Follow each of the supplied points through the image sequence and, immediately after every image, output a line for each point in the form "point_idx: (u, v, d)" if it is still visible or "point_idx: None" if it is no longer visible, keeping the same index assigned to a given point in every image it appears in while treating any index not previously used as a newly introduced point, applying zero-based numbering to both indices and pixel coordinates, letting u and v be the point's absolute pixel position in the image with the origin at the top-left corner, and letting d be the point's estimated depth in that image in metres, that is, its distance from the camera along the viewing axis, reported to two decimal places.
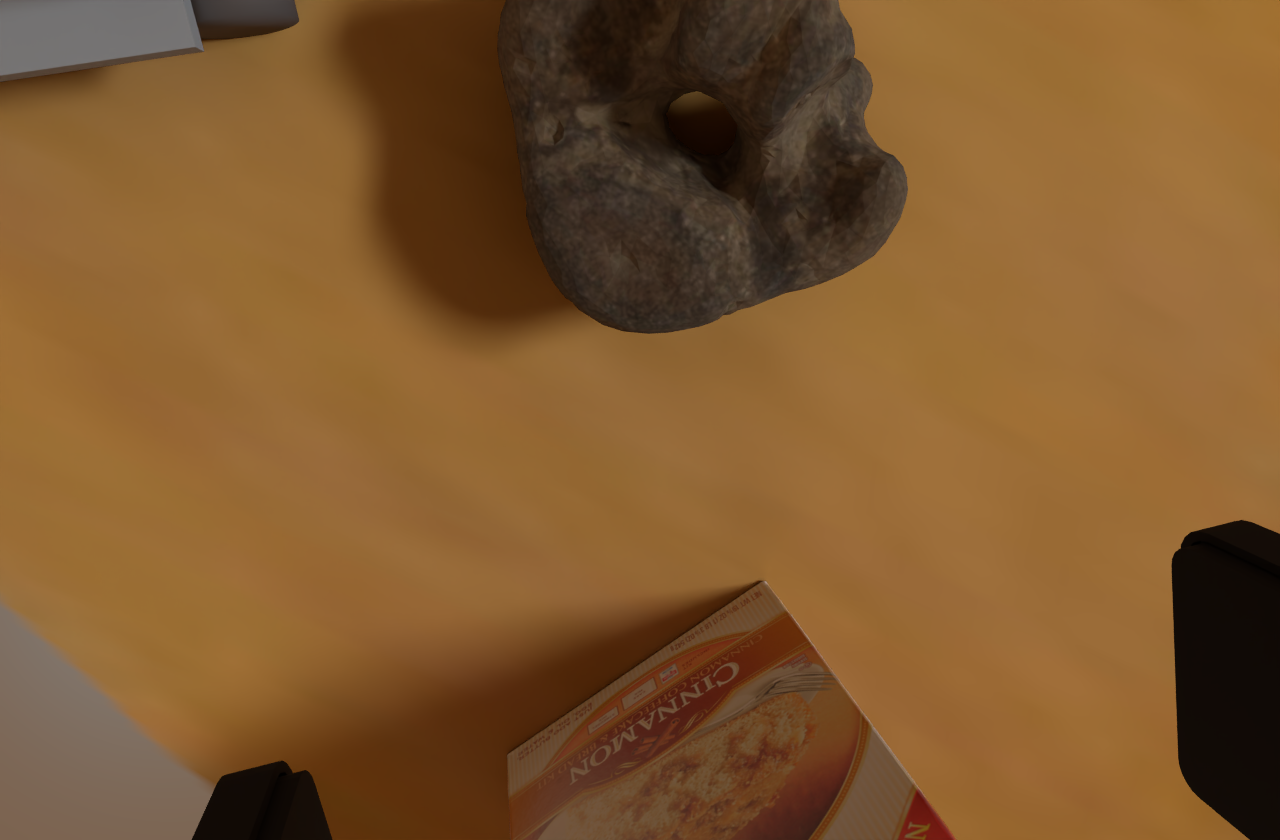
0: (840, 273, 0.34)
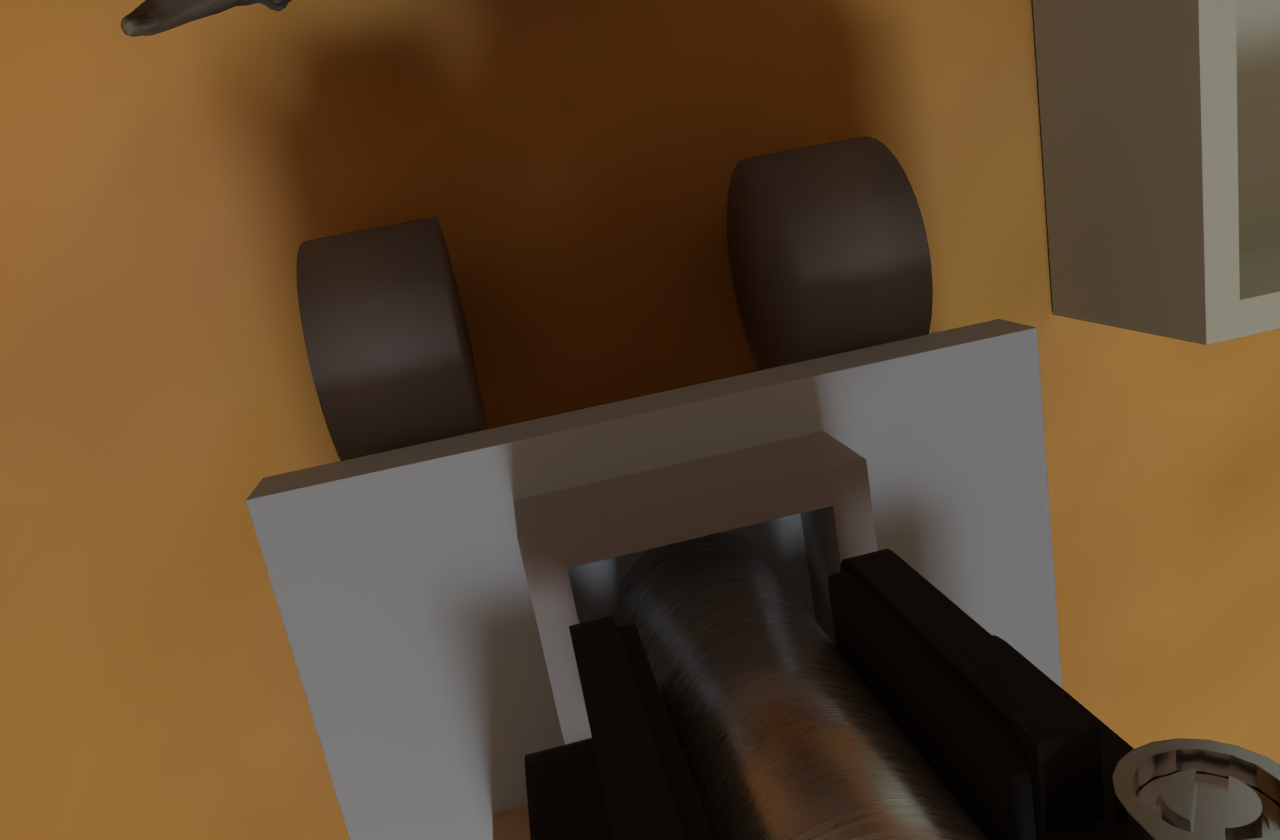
0: None
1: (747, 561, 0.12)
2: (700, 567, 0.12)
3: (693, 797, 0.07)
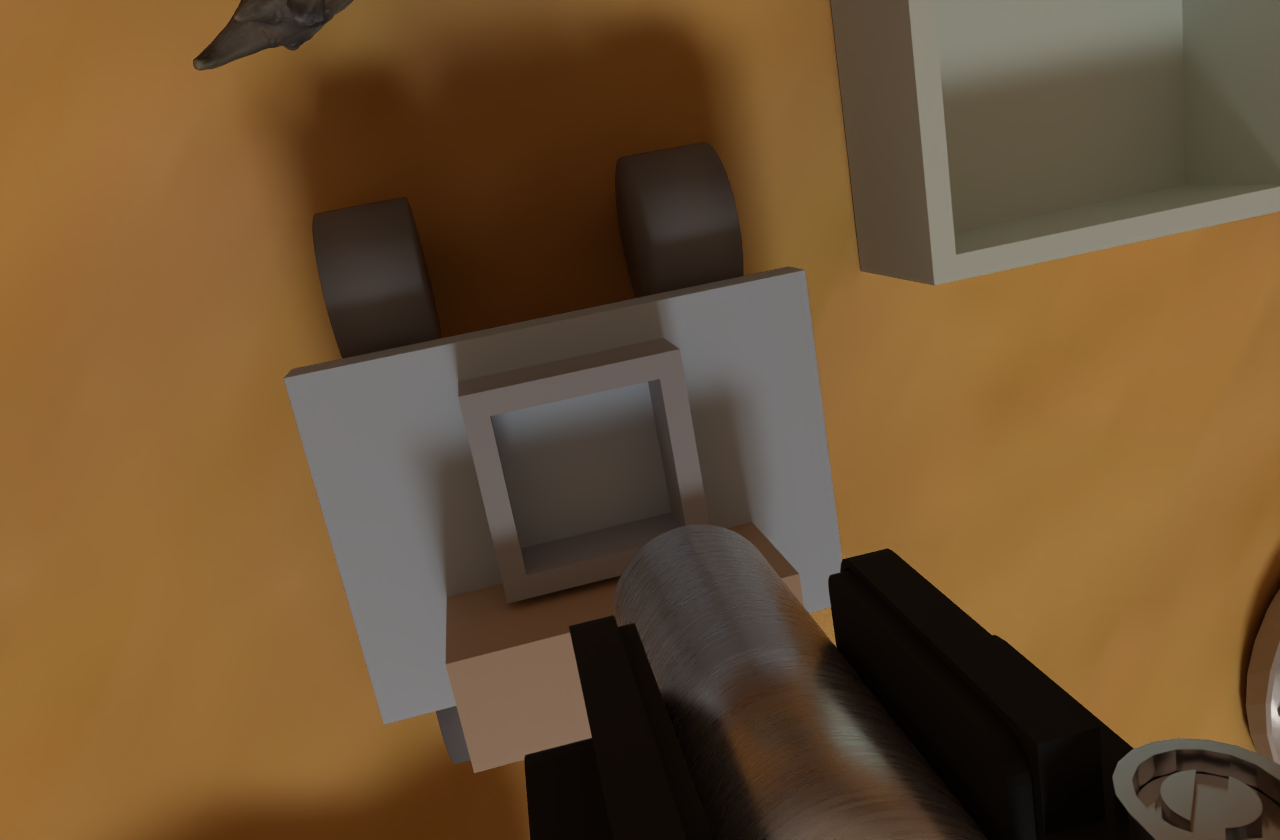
0: None
1: (743, 555, 0.12)
2: (696, 561, 0.12)
3: (693, 797, 0.07)
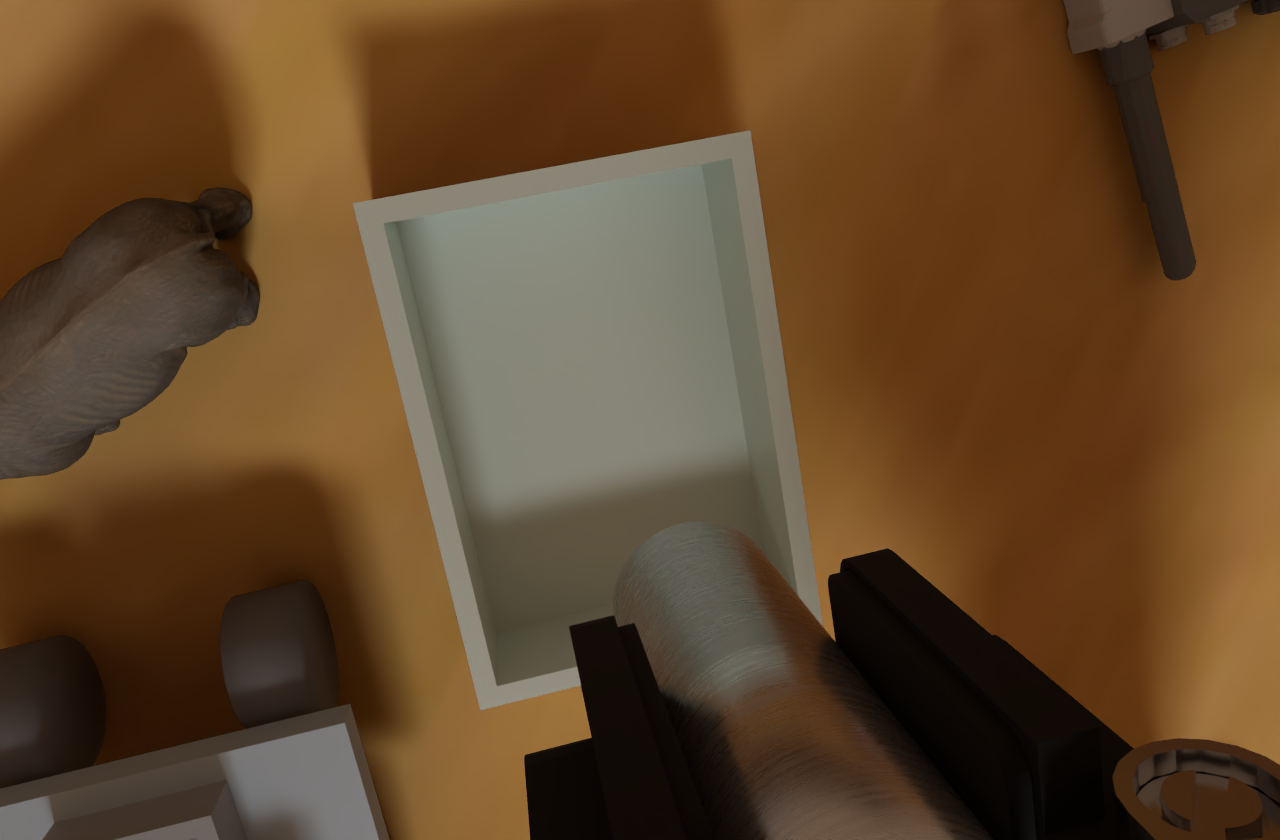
0: None
1: (743, 552, 0.12)
2: (696, 557, 0.12)
3: (693, 797, 0.07)
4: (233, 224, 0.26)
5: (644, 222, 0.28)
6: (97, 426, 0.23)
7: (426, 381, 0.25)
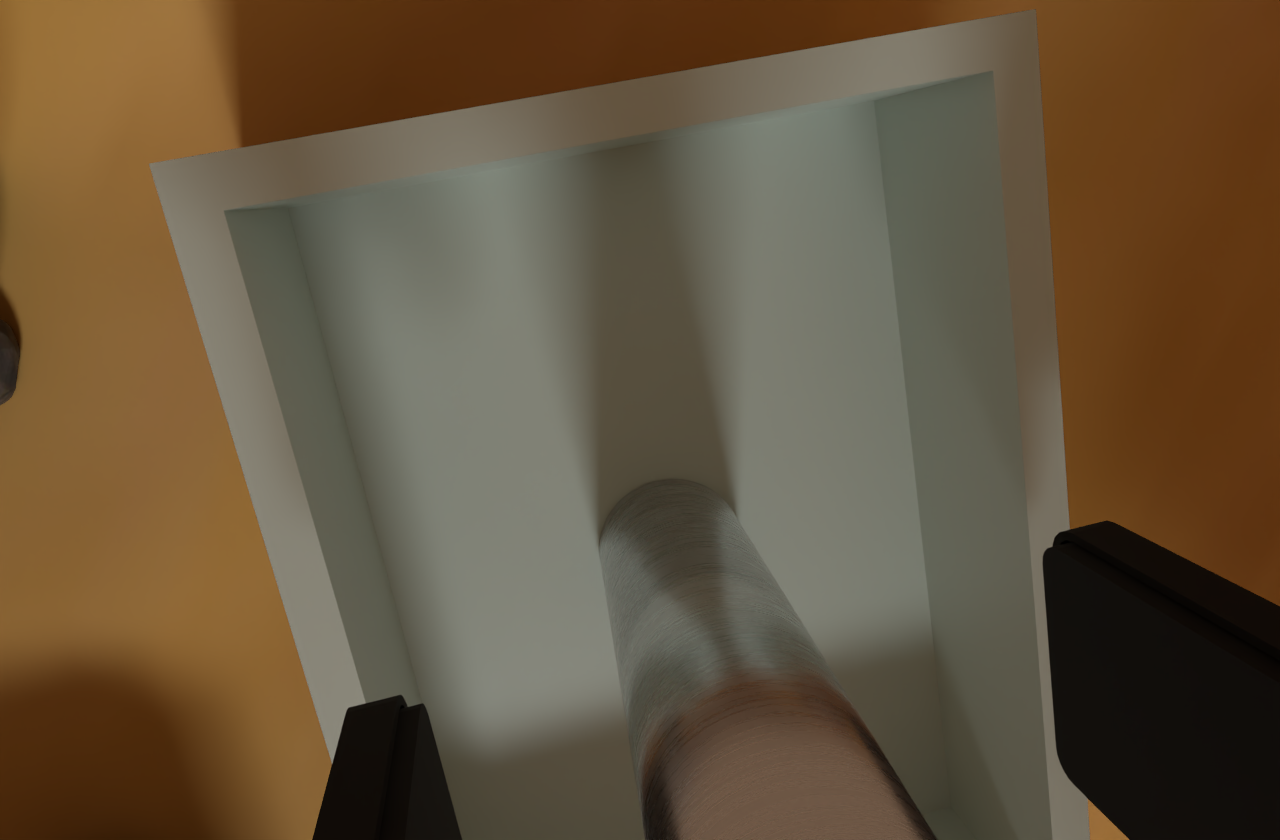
0: None
1: (705, 502, 0.14)
2: (663, 505, 0.14)
3: None
4: None
5: (764, 210, 0.15)
6: None
7: (339, 538, 0.12)
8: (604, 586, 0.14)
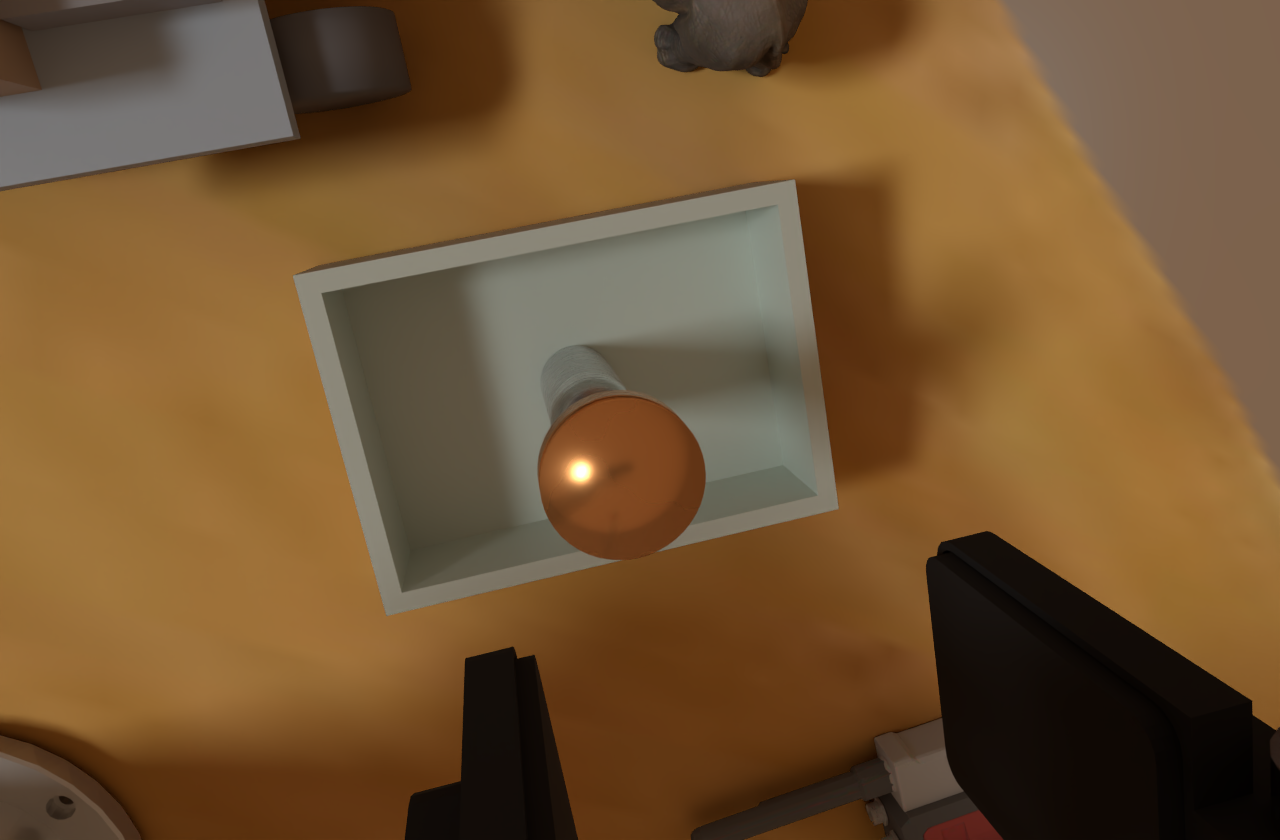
0: None
1: None
2: None
3: None
4: None
5: (737, 419, 0.32)
6: None
7: None
8: (578, 352, 0.29)
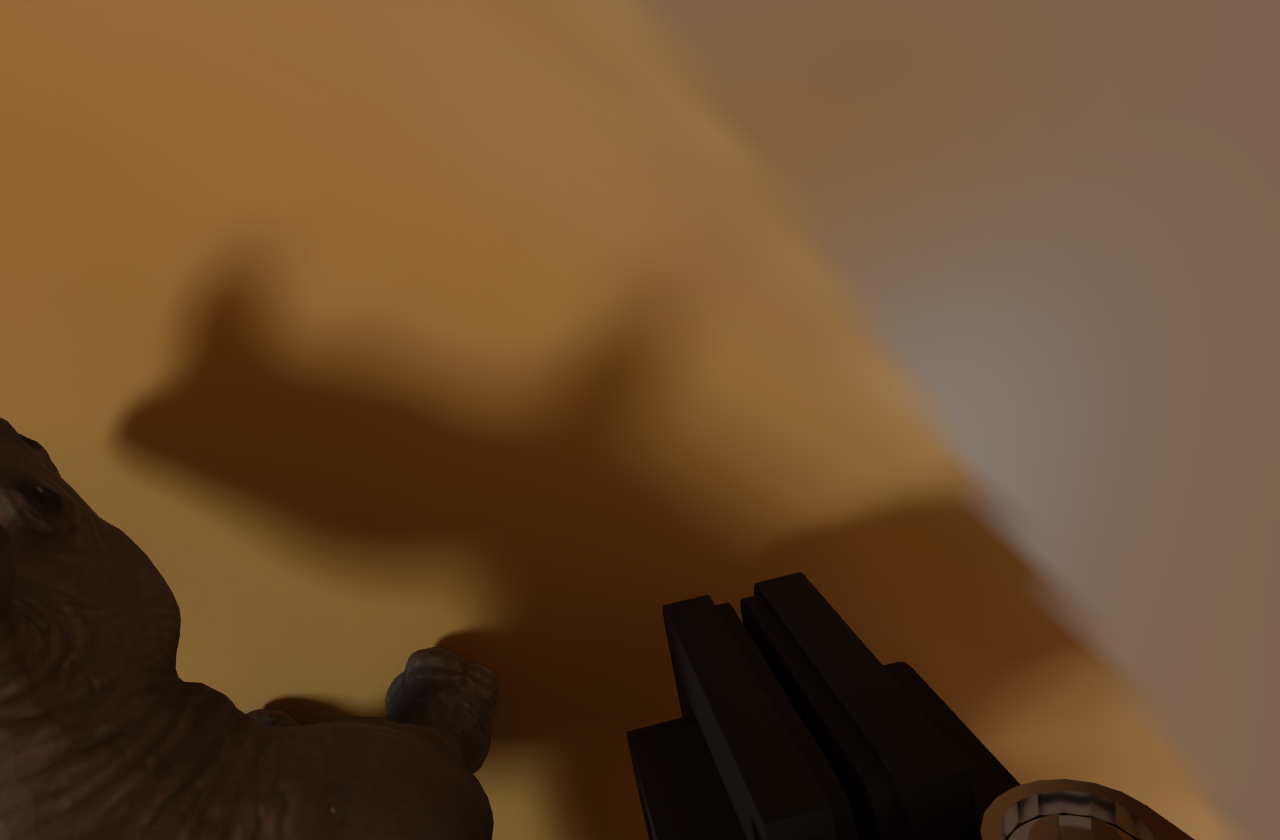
0: None
1: None
2: None
3: (825, 766, 0.07)
4: None
5: None
6: None
7: None
8: None
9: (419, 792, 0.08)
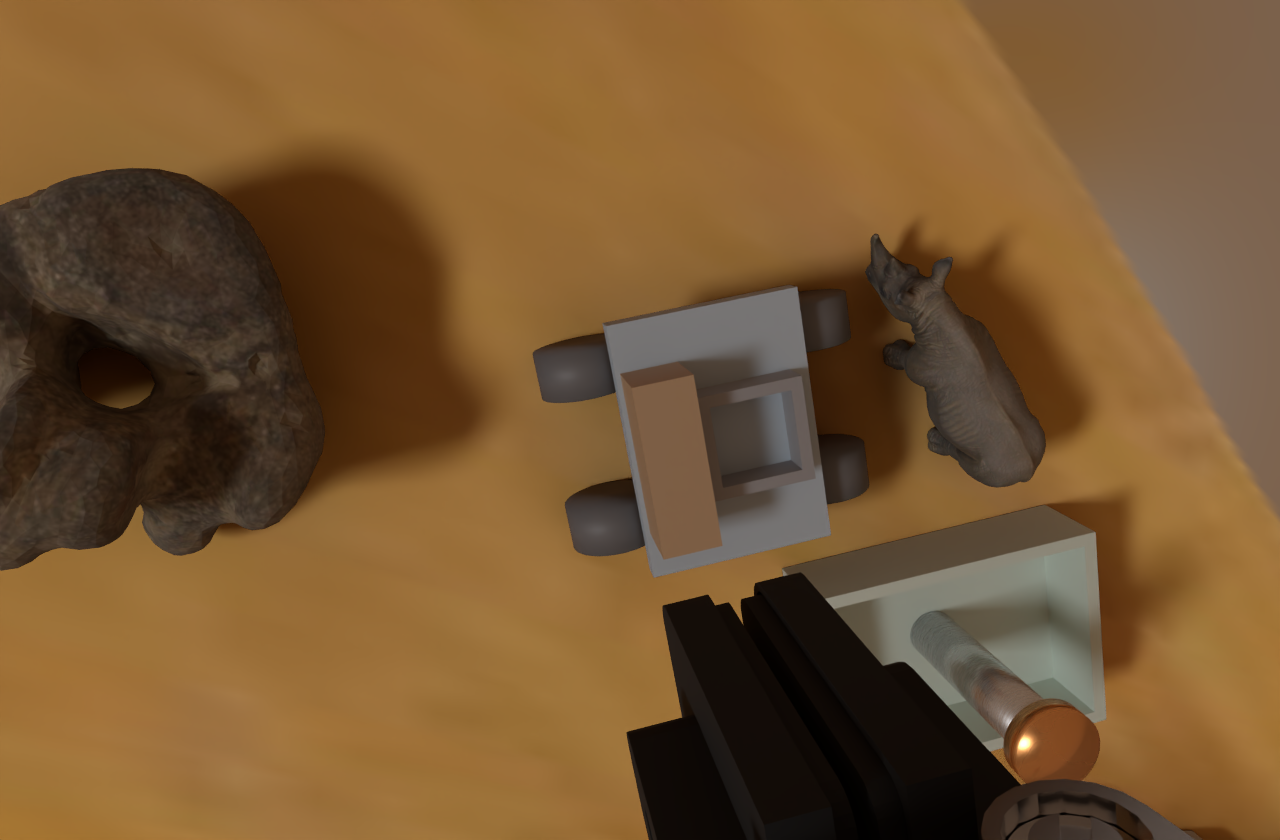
0: None
1: None
2: None
3: (825, 766, 0.07)
4: None
5: (1027, 650, 0.49)
6: (939, 405, 0.41)
7: None
8: (944, 622, 0.46)
9: None
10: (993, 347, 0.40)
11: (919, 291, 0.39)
